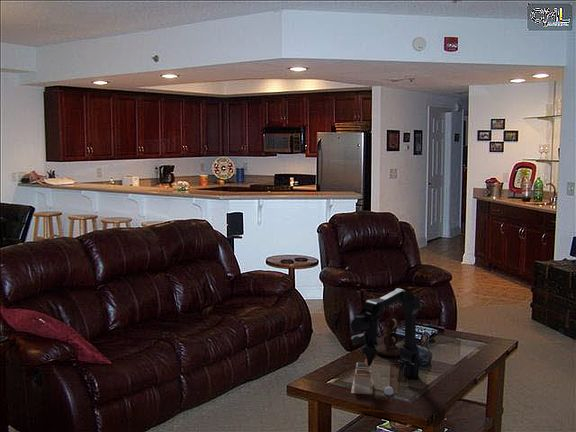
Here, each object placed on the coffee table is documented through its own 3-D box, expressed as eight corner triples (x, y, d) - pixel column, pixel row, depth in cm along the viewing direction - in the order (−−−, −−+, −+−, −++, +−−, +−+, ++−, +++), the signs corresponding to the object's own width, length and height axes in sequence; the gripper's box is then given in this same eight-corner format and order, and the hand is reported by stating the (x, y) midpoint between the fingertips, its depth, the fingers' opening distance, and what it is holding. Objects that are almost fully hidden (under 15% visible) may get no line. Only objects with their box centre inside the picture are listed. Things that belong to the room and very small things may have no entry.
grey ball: (393, 394, 283) (393, 385, 282) (393, 397, 279) (393, 388, 278) (383, 393, 283) (384, 384, 283) (383, 396, 279) (384, 387, 279)
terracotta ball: (373, 365, 287) (374, 356, 287) (373, 368, 283) (374, 359, 283) (364, 364, 288) (365, 355, 288) (364, 367, 284) (364, 358, 284)
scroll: (382, 348, 348) (384, 311, 346) (408, 353, 341) (410, 316, 339) (371, 355, 336) (373, 317, 334) (398, 360, 328) (400, 322, 326)
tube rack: (353, 379, 299) (354, 361, 298) (373, 381, 297) (374, 363, 296) (351, 394, 281) (351, 374, 280) (371, 396, 280) (372, 376, 279)
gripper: (354, 322, 295) (352, 356, 296) (351, 333, 276) (349, 369, 278) (379, 325, 293) (376, 358, 294) (378, 335, 274) (375, 371, 276)
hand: (369, 364), depth 285 cm, fingers closed on terracotta ball, 4 cm apart
